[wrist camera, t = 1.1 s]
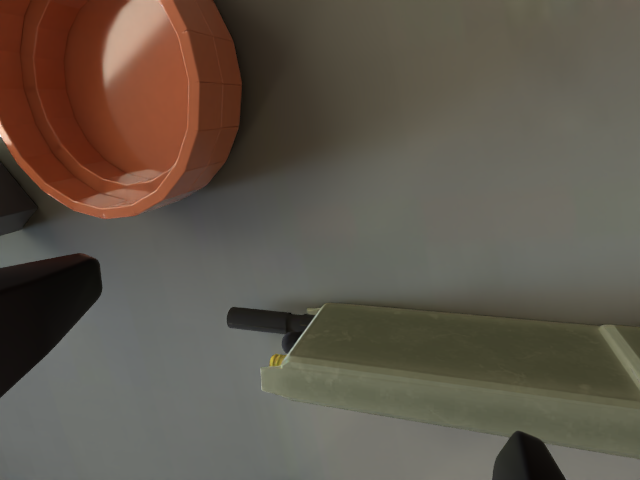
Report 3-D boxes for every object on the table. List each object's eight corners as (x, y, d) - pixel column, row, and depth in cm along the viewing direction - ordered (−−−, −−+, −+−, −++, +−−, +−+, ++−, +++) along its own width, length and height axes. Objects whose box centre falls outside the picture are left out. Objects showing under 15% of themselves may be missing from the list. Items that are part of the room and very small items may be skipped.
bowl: (202, 237, 26) (155, 263, 22) (40, 137, 27) (-33, 143, 23) (284, 22, 20) (240, 2, 16) (75, -89, 22) (-13, -132, 18)
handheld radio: (716, 388, 19) (243, 332, 27) (731, 325, 18) (237, 285, 26) (837, 512, 13) (180, 394, 21) (868, 426, 12) (171, 336, 20)
